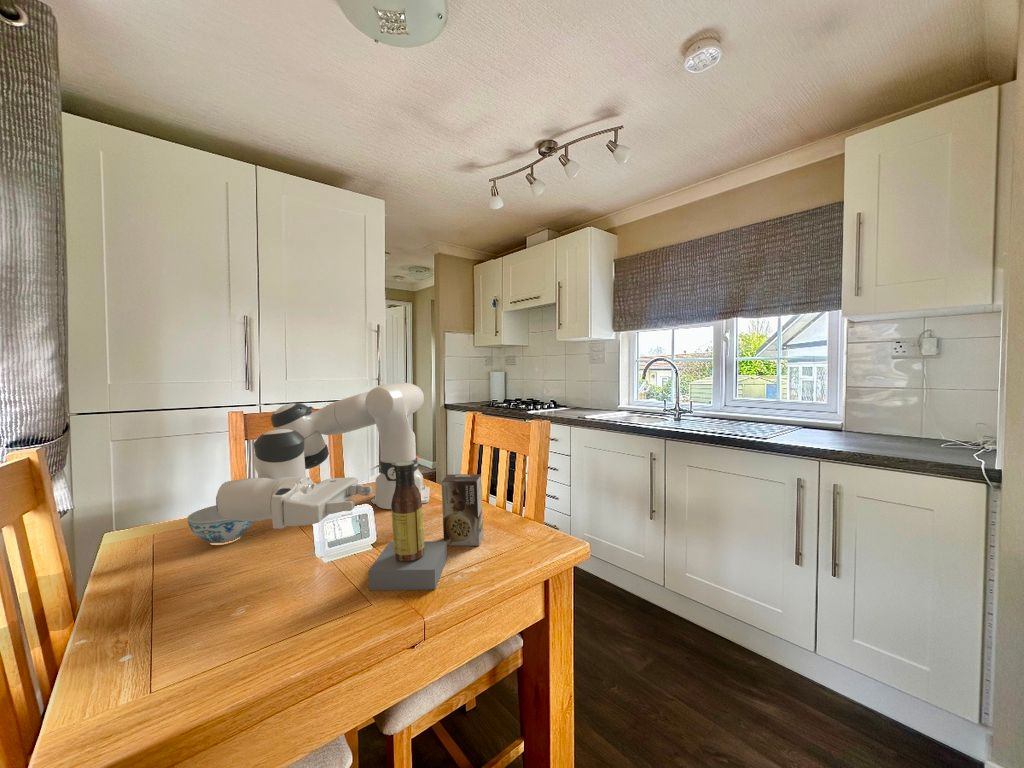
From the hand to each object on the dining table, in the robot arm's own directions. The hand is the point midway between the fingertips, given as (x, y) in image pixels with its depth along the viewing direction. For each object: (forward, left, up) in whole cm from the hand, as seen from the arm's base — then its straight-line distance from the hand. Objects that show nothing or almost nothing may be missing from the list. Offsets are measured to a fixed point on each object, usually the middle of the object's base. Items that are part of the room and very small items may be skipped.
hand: (362, 497), depth 84 cm
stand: (0, +10, -16) cm, 19 cm away
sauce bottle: (+1, +10, -13) cm, 16 cm away
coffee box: (-16, +19, -17) cm, 30 cm away
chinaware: (-18, -43, -17) cm, 50 cm away
